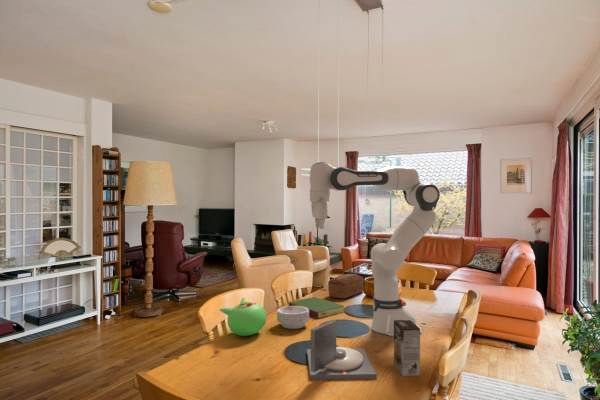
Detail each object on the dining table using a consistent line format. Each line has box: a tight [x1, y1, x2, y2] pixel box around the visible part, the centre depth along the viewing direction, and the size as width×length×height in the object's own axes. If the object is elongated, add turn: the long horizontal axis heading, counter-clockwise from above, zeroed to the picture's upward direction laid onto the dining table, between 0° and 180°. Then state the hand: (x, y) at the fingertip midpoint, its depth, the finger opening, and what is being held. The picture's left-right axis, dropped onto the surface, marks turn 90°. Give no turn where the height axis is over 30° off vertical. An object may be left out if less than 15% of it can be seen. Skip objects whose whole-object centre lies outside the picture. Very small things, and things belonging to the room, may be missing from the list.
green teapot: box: [219, 297, 267, 337], centre depth 167 cm, size 18×17×15 cm
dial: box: [310, 319, 363, 372], centre depth 133 cm, size 24×17×15 cm
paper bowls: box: [276, 305, 310, 330], centre depth 178 cm, size 15×15×8 cm
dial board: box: [306, 347, 377, 381], centre depth 135 cm, size 22×22×2 cm
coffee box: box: [393, 320, 421, 377], centre depth 131 cm, size 9×6×16 cm
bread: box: [327, 273, 365, 300], centre depth 239 cm, size 14×28×12 cm, turn 141°
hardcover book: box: [288, 296, 344, 320], centre depth 204 cm, size 25×19×4 cm
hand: (319, 228), depth 171 cm, fingers open, 8 cm apart
